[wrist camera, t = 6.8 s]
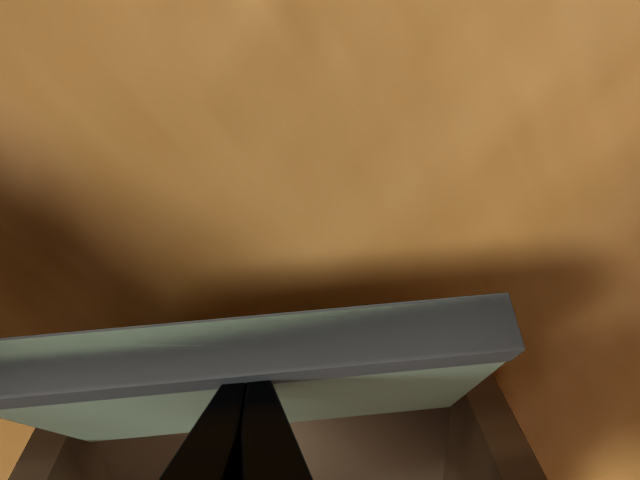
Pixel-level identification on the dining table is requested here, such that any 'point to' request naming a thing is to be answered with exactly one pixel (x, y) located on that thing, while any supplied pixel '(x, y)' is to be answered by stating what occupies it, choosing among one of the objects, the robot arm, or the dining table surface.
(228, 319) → the green grey flat panel
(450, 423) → the brown hollow box
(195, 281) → the dining table surface
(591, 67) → the dining table surface
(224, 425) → the robot arm
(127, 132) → the dining table surface
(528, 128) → the dining table surface
